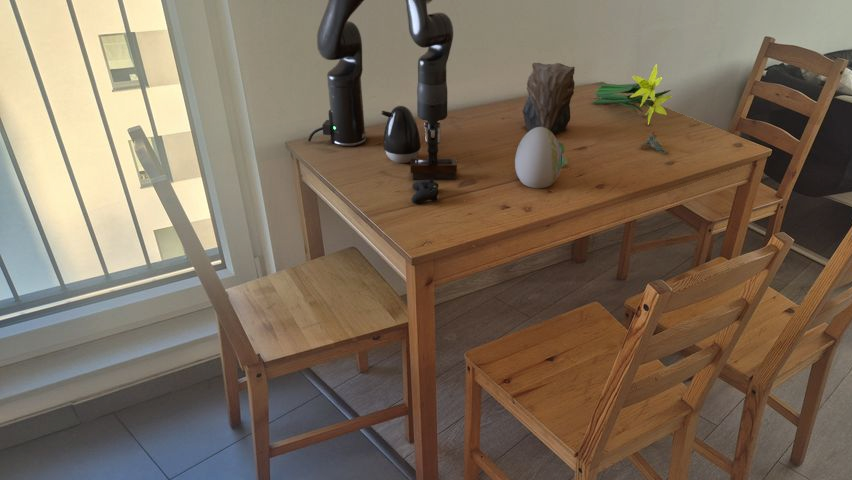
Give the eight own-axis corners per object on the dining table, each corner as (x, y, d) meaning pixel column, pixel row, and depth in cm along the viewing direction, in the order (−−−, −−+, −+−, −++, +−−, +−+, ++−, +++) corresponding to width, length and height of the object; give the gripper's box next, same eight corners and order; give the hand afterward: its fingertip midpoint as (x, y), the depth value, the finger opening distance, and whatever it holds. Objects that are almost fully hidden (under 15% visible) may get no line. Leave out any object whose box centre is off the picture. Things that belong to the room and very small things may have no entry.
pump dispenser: (379, 155, 191) (376, 102, 183) (414, 150, 195) (413, 98, 187) (389, 168, 183) (386, 114, 175) (425, 164, 187) (424, 110, 179)
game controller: (410, 184, 173) (427, 169, 171) (425, 198, 175) (442, 183, 174) (409, 201, 165) (426, 185, 163) (425, 215, 167) (442, 199, 165)
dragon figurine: (676, 145, 203) (655, 130, 205) (673, 144, 196) (651, 128, 198) (662, 163, 205) (642, 148, 207) (658, 162, 198) (637, 146, 200)
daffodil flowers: (622, 99, 245) (695, 101, 216) (597, 127, 242) (667, 132, 213) (601, 61, 236) (673, 57, 207) (574, 89, 233) (644, 88, 204)
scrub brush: (456, 173, 183) (456, 155, 180) (456, 180, 179) (456, 161, 176) (411, 173, 181) (410, 155, 179) (411, 180, 178) (410, 162, 175)
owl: (519, 126, 215) (523, 62, 204) (551, 120, 221) (556, 57, 211) (544, 139, 206) (549, 73, 196) (576, 132, 213) (582, 67, 202)
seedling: (552, 177, 195) (557, 173, 189) (532, 157, 194) (536, 153, 188) (569, 159, 196) (574, 155, 189) (549, 139, 195) (553, 135, 188)
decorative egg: (567, 189, 176) (572, 134, 168) (522, 193, 173) (525, 137, 165) (550, 171, 186) (555, 118, 178) (508, 174, 183) (510, 121, 175)
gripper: (417, 89, 174) (418, 148, 183) (416, 107, 163) (418, 170, 172) (446, 89, 175) (446, 148, 184) (448, 108, 163) (447, 170, 172)
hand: (432, 159), depth 178 cm, fingers open, 8 cm apart
